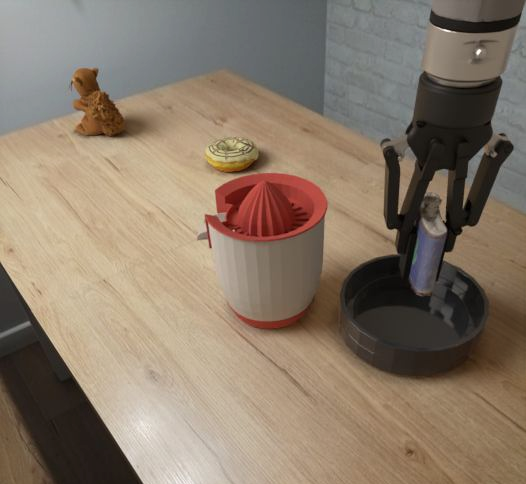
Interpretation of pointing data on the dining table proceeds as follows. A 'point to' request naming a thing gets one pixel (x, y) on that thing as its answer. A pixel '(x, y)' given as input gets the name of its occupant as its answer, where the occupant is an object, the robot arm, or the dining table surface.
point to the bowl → (411, 318)
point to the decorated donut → (231, 154)
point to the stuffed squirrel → (95, 106)
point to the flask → (427, 245)
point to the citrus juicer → (267, 246)
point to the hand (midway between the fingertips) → (418, 271)
